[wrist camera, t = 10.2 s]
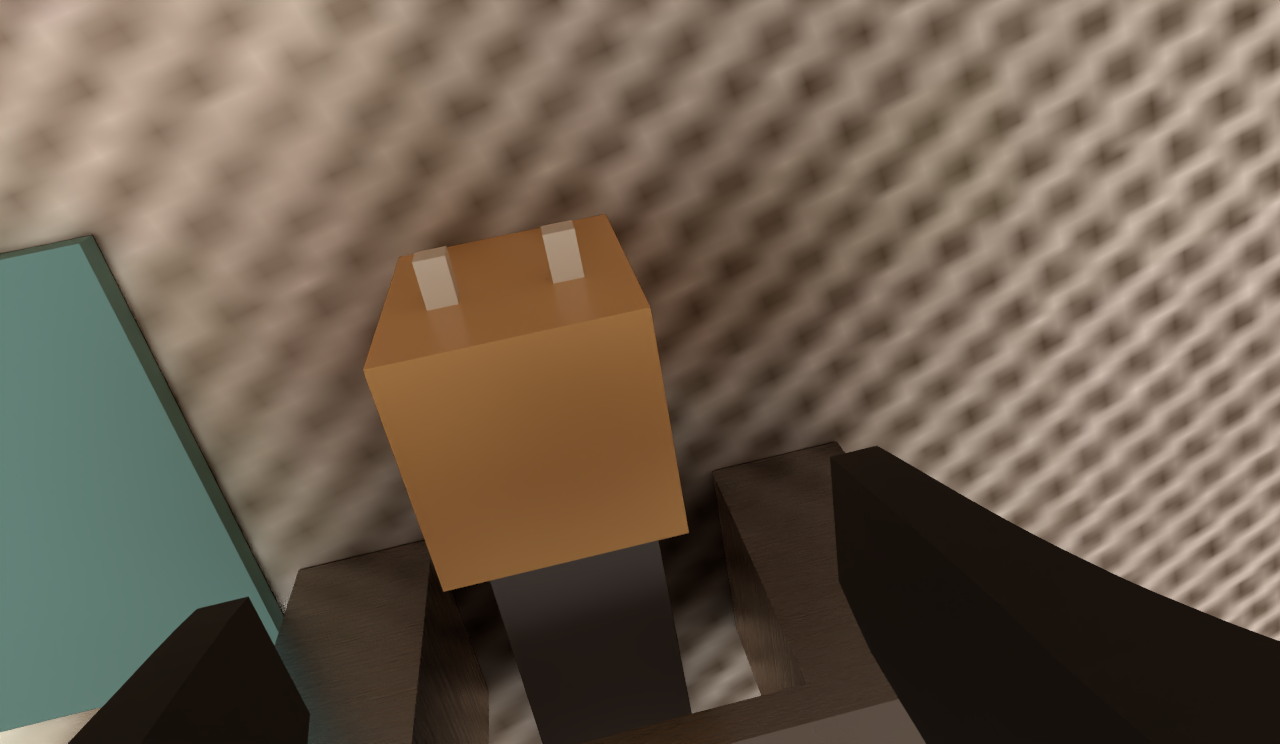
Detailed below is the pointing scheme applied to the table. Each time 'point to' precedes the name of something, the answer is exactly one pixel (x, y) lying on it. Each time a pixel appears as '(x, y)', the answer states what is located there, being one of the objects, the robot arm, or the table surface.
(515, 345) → the plug
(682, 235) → the table surface
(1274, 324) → the table surface
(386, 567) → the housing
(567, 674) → the push rod
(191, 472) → the mat
